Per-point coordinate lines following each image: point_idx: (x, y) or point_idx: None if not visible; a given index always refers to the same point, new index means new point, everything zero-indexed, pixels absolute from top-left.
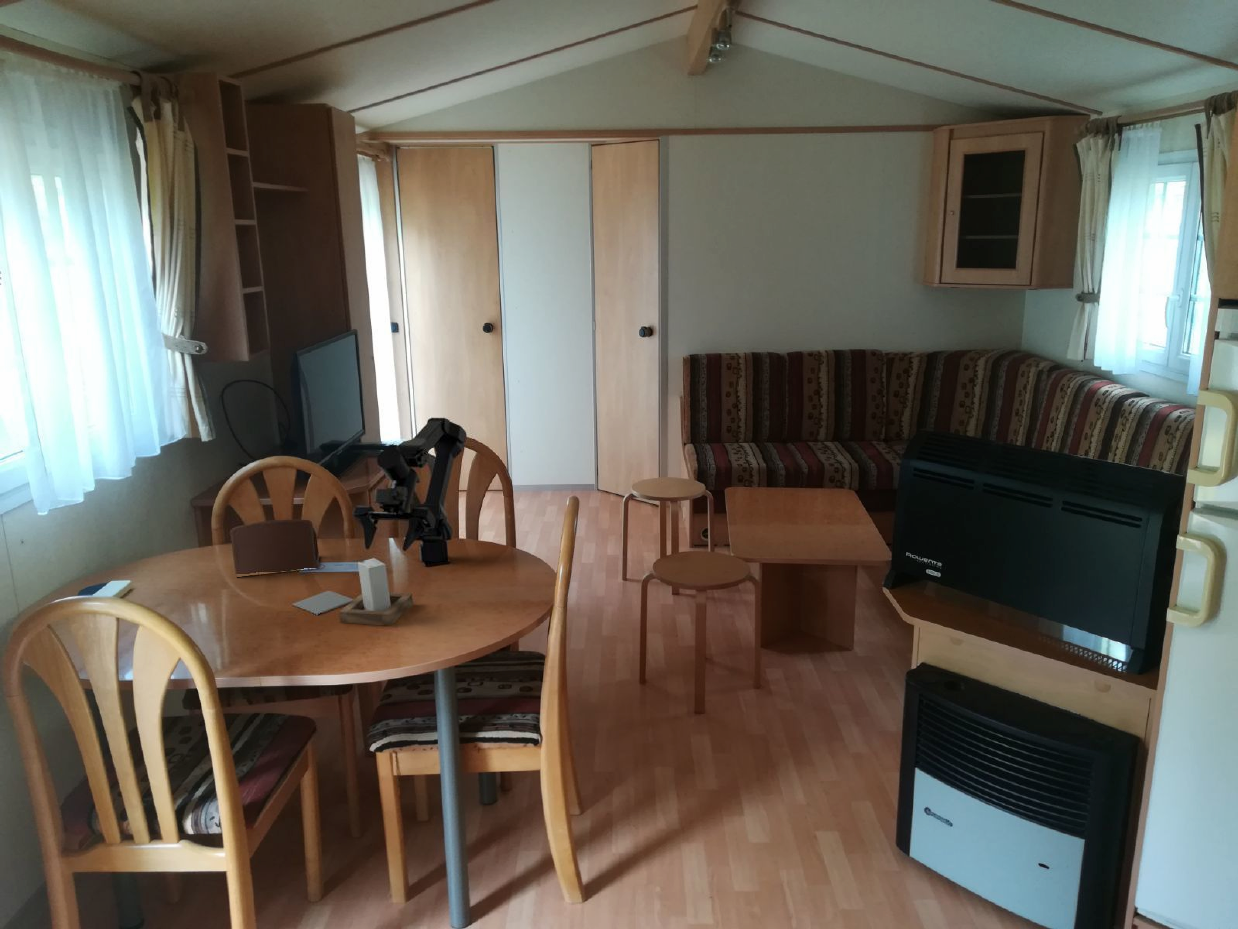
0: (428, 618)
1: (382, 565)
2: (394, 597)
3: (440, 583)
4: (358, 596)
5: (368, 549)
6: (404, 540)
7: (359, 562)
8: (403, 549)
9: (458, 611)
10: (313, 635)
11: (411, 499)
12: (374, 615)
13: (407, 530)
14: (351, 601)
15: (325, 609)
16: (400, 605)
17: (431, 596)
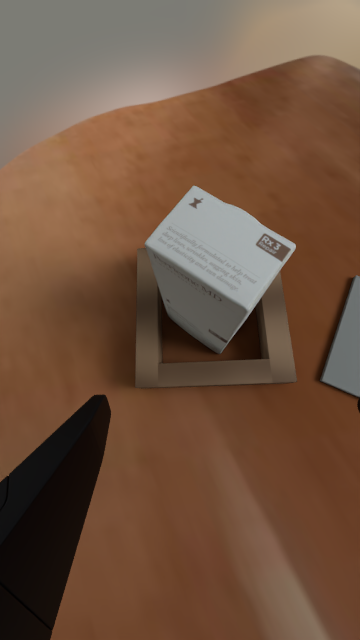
0: (72, 313)
1: (154, 233)
2: (181, 363)
3: (122, 581)
4: (289, 342)
5: (357, 404)
6: (77, 435)
7: (287, 242)
8: (100, 395)
9: (12, 364)
10: (284, 191)
11: None
12: None
13: (10, 530)
14: (323, 372)
15: (354, 303)
16: (137, 309)
17: (112, 454)
